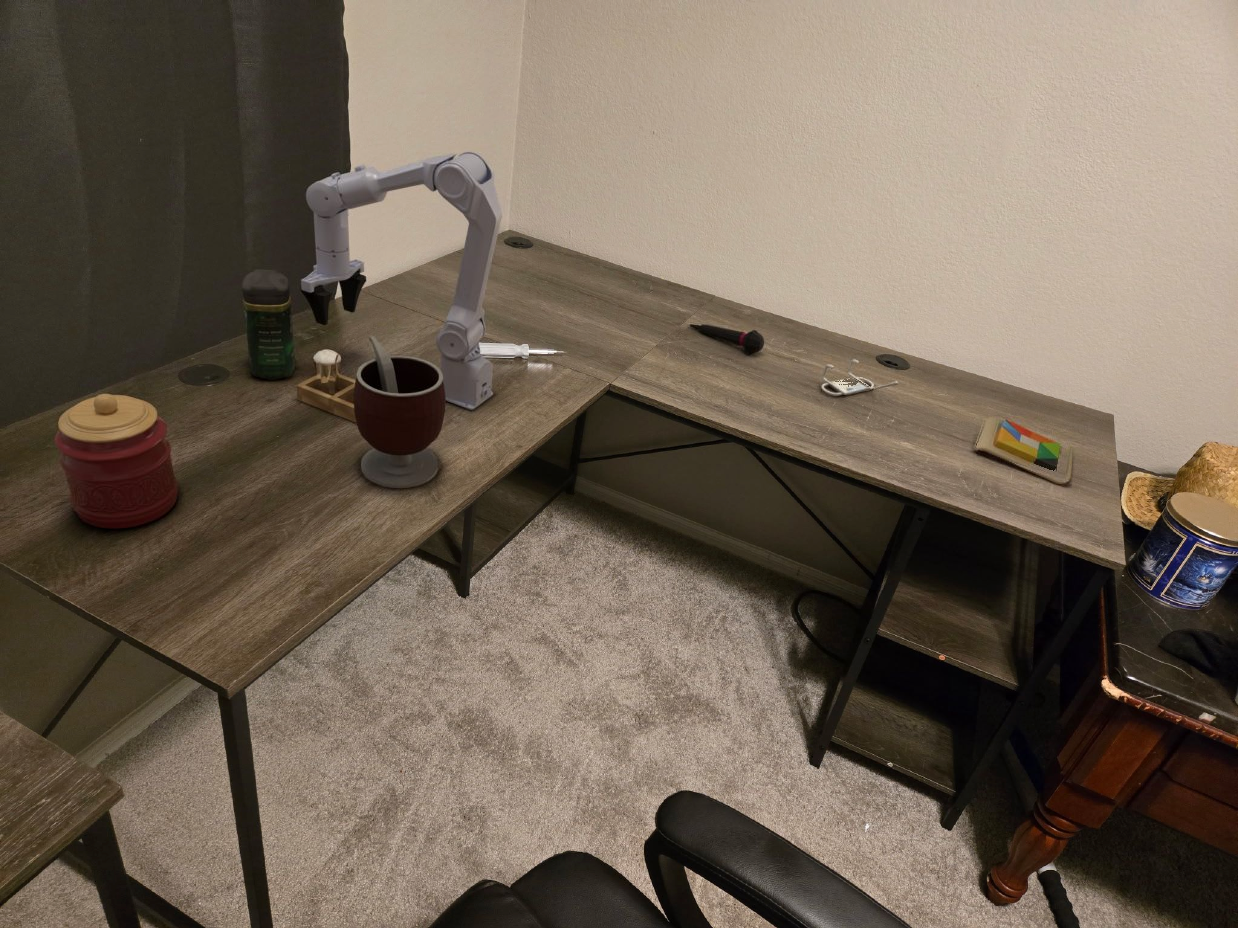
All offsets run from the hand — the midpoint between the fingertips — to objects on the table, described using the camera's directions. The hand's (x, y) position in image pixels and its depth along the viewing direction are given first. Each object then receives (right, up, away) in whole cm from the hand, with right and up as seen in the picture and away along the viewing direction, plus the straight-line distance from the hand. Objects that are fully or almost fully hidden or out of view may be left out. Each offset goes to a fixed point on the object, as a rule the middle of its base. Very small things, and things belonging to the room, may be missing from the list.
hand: (335, 317), depth 150 cm
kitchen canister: (-17, -33, -36) cm, 52 cm away
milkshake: (+1, -16, -5) cm, 17 cm away
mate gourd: (+17, -28, -18) cm, 38 cm away
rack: (+4, -17, -6) cm, 18 cm away
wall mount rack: (+108, -12, +32) cm, 113 cm away
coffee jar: (-12, -10, +1) cm, 16 cm away
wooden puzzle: (+140, -26, +20) cm, 144 cm away
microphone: (+80, +2, +45) cm, 92 cm away
